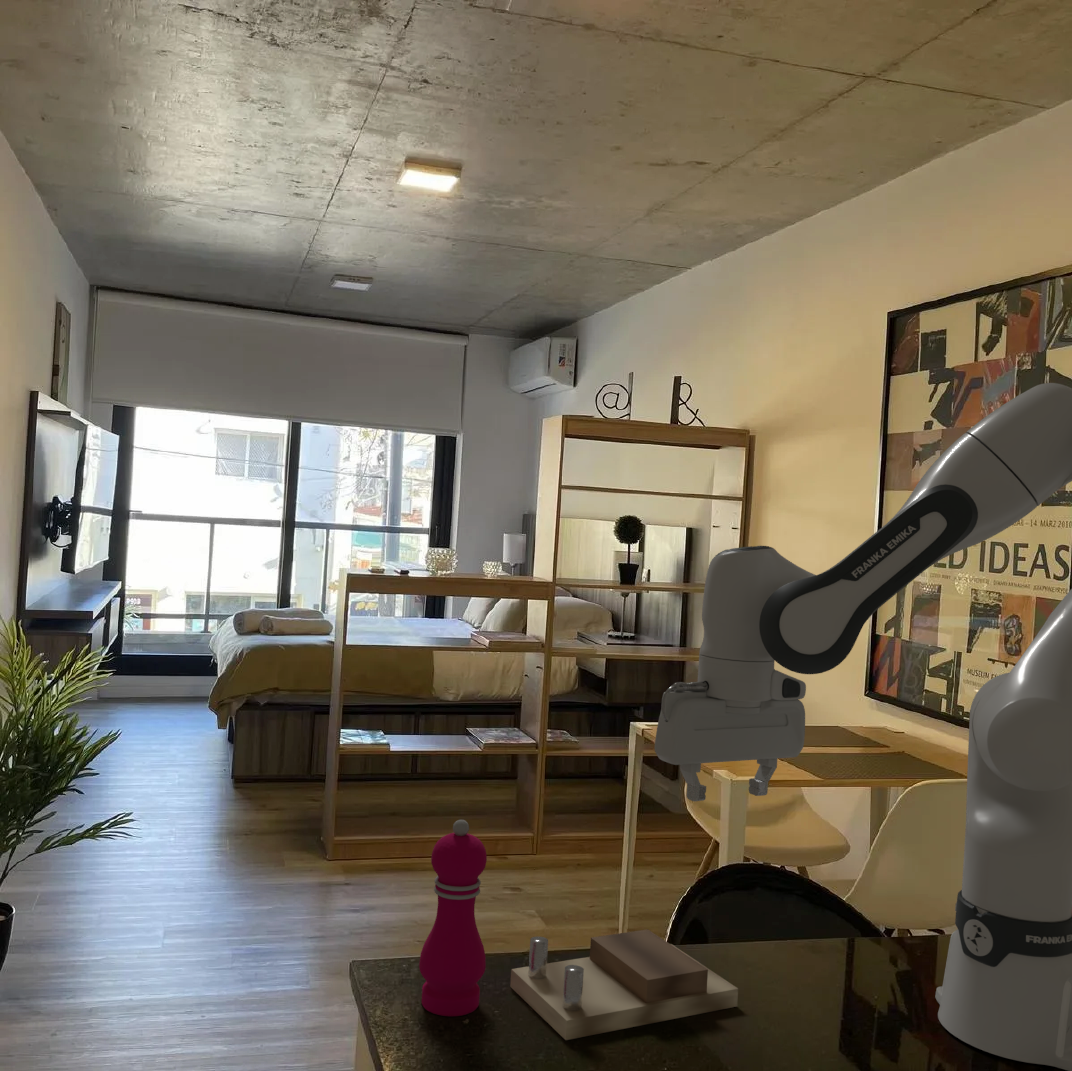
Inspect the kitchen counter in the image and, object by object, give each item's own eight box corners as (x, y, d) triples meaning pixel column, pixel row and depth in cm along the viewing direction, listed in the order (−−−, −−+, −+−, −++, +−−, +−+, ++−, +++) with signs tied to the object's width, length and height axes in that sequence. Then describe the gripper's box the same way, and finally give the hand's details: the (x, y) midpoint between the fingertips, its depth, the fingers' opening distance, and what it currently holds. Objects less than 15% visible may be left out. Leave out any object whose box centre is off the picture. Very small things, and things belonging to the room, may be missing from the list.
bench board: (670, 960, 126) (673, 911, 126) (737, 1006, 115) (740, 952, 115) (510, 986, 116) (513, 933, 116) (565, 1040, 104) (569, 981, 104)
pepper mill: (473, 1023, 107) (485, 832, 107) (407, 1013, 108) (419, 824, 108) (490, 994, 114) (501, 815, 114) (428, 984, 115) (439, 807, 115)
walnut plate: (646, 949, 124) (647, 929, 124) (706, 991, 113) (708, 969, 113) (589, 958, 120) (590, 937, 120) (646, 1003, 109) (647, 980, 109)
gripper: (681, 686, 114) (672, 810, 114) (816, 684, 124) (809, 798, 124) (648, 678, 119) (640, 796, 119) (780, 676, 129) (773, 785, 129)
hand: (727, 797), depth 121 cm, fingers open, 8 cm apart
